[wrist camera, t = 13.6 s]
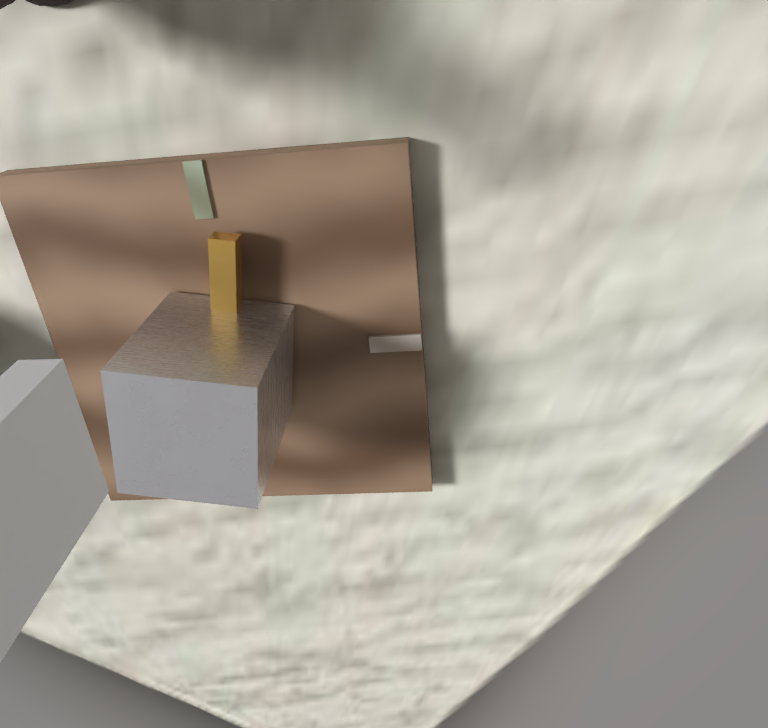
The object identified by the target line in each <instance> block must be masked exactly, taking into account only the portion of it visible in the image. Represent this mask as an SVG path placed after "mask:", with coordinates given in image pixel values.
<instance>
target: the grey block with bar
mask: <svg viewBox="0 0 768 728" xmlns="http://www.w3.org/2000/svg"><path fill="white" fill-rule="evenodd" d="M208 256H209V280H210V296H207V295H198V294H189V293H180V292H170V293H169V294H168V295H167V296H166V297H165V298H164V300H163V301H162V302H161V303H160V304H159V305H158V306H157V307H156V309H155V310H154V311H153V312H152V313H151V314H150V315H149V316H148V318H147V319H146V320H145V321H144V322H143V323H142V324H141V325H140V327H139V328H138V329H137V330H136V331H135V332H134V333H133V334H132V336H131V337H130V338H129V339H128V340H127V341H126V342H125V343H124V345H123V346H122V347H121V348H120V349H119V350H118V351H117V352H116V354H115V355H114V356H113V357H112V358H111V359H110V360H109V361H108V362H107V364H106V365H105V366H104V367H103V368H102V369H101V370H100V371H101V378H102V385H103V393H104V400H105V407H106V414H107V422H108V429H109V436H110V443H111V451H112V458H113V465H114V472H115V480H116V487H117V493H123V494H132V495H140V496H149V497H158V498H167V499H176V500H185V501H194V502H202V503H211V504H220V505H229V506H238V507H247V508H255V509H258V507H259V504H260V501H261V498H262V495H263V492H264V489H265V487H266V484H267V481H268V478H269V475H270V472H271V469H272V466H273V463H274V460H275V457H276V454H277V451H278V449H279V446H280V443H281V440H282V437H283V434H284V431H285V428H286V425H287V422H288V419H289V416H290V413H291V411H292V385H293V346H294V307H295V305H290V304H281V303H271V302H262V301H253V300H244V299H242V258H241V234H236V233H226V232H217V231H214V232H213V233H212V235H211V236H210V237H209V238H208Z"/></svg>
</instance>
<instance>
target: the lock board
mask: <svg viewBox="0 0 768 728" xmlns="http://www.w3.org/2000/svg"><path fill="white" fill-rule="evenodd" d="M0 201H1V204H2V207H3V209H4V212H5V215H6V218H7V220H8V223H9V226H10V228H11V231H12V234H13V237H14V239H15V242H16V245H17V247H18V250H19V253H20V255H21V258H22V261H23V264H24V266H25V269H26V272H27V274H28V277H29V280H30V283H31V285H32V288H33V291H34V293H35V296H36V299H37V302H38V304H39V307H40V310H41V312H42V315H43V318H44V320H45V323H46V326H47V329H48V331H49V334H50V337H51V339H52V342H53V345H54V348H55V350H56V353H57V356H58V358H59V359H63V361H64V363H65V366H66V369H67V372H68V375H69V378H70V380H71V383H72V386H73V389H74V392H75V395H76V398H77V400H78V403H79V406H80V409H81V412H82V415H83V418H84V420H85V423H86V426H87V429H88V432H89V435H90V438H91V440H92V443H93V446H94V449H95V452H96V455H97V458H98V460H99V463H100V466H101V469H102V472H103V475H104V478H105V480H106V483H107V486H108V489H109V492H108V494H109V496H110V499H111V500H145V499H167V498H158V497H149V496H140V495H132V494H123V493H117V487H116V480H115V472H114V465H113V458H112V451H111V443H110V436H109V429H108V422H107V414H106V407H105V400H104V393H103V385H102V378H101V371H100V370H101V369H102V368H103V367H104V366H105V365H106V364H107V362H108V361H109V360H110V359H111V358H112V357H113V356H114V355H115V354H116V352H117V351H118V350H119V349H120V348H121V347H122V346H123V345H124V343H125V342H126V341H127V340H128V339H129V338H130V337H131V336H132V334H133V333H134V332H135V331H136V330H137V329H138V328H139V327H140V325H141V324H142V323H143V322H144V321H145V320H146V319H147V318H148V316H149V315H150V314H151V313H152V312H153V311H154V310H155V309H156V307H157V306H158V305H159V304H160V303H161V302H162V301H163V300H164V298H165V297H166V296H167V295H168V294H169V293H170V292H180V293H189V294H198V295H207V296H210V280H209V256H208V238H209V237H210V236H211V235H212V233H213V232H214V231H217V232H226V233H236V234H241V258H242V299H244V300H253V301H262V302H271V303H281V304H290V305H295V307H294V346H293V385H292V411H291V413H290V416H289V419H288V422H287V425H286V428H285V431H284V434H283V437H282V440H281V443H280V446H279V449H278V451H277V454H276V457H275V460H274V463H273V466H272V469H271V472H270V475H269V478H268V481H267V484H266V487H265V489H264V492H263V495H262V496H284V495H319V494H354V493H389V492H423V491H432V466H431V451H430V437H429V423H428V408H427V394H426V380H425V366H424V351H423V337H422V323H421V308H420V294H419V280H418V265H417V251H416V237H415V223H414V208H413V194H412V180H411V165H410V151H409V137H404V138H392V139H380V140H368V141H356V142H344V143H332V144H320V145H307V146H295V147H283V148H271V149H259V150H247V151H235V152H222V153H210V154H198V155H186V156H174V157H162V158H150V159H137V160H125V161H113V162H101V163H89V164H77V165H65V166H52V167H40V168H28V169H16V170H7V171H4V172H2V173H0Z"/></svg>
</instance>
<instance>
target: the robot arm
mask: <svg viewBox="0 0 768 728" xmlns="http://www.w3.org/2000/svg"><path fill="white" fill-rule="evenodd" d="M108 492H109V489H108V486H107V483H106V480H105V478H104V475H103V472H102V469H101V466H100V463H99V460H98V458H97V455H96V452H95V449H94V446H93V443H92V440H91V438H90V435H89V432H88V429H87V426H86V423H85V420H84V418H83V415H82V412H81V409H80V406H79V403H78V400H77V398H76V395H75V392H74V389H73V386H72V383H71V380H70V378H69V375H68V372H67V369H66V366H65V363H64V361H63V359H38V360H17V361H16V362H15V363H14V364H13V365H12V366H11V367H10V368H8V369H7V370H6V371H5V372H4V373H3V374H2V375H1V376H0V662H1V661H2V659H3V657H4V656H5V654H6V653H7V651H8V650H9V648H10V646H11V645H12V643H13V641H14V640H15V639H16V637H17V635H18V634H19V632H20V631H21V629H22V628H23V626H24V624H25V623H26V621H27V620H28V618H29V617H30V615H31V613H32V612H33V610H34V609H35V607H36V606H37V604H38V602H39V601H40V599H41V598H42V596H43V595H44V593H45V591H46V590H47V588H48V587H49V585H50V584H51V582H52V580H53V579H54V577H55V576H56V574H57V572H58V571H59V569H60V568H61V566H62V565H63V563H64V561H65V560H66V558H67V557H68V555H69V554H70V552H71V550H72V549H73V547H74V546H75V544H76V543H77V541H78V539H79V538H80V536H81V535H82V533H83V532H84V530H85V528H86V527H87V525H88V524H89V522H90V521H91V519H92V517H93V516H94V514H95V513H96V511H97V510H98V508H99V506H100V505H101V503H102V502H103V500H104V499H105V497H106V495H107V494H108Z"/></svg>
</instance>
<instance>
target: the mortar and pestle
mask: <svg viewBox="0 0 768 728" xmlns="http://www.w3.org/2000/svg"><path fill="white" fill-rule="evenodd" d="M14 1H15V0H0V9H1V8H3V7H5V6H7V5H9V4H11V3H13V2H14ZM26 1H28V2H30V3H33V4H35V5H39V6H57V5H62V4H67V3H70V2H72V1H73V0H26Z"/></svg>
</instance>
